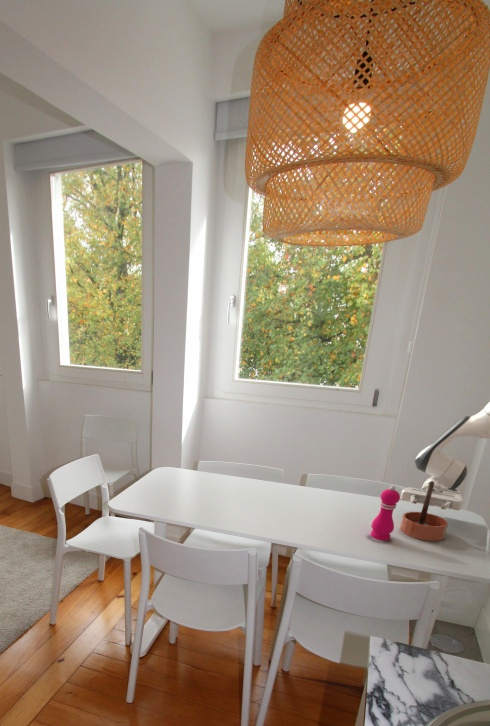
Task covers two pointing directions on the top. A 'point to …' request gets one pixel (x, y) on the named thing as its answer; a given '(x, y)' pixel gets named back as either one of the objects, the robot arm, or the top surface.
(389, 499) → the pepper mill
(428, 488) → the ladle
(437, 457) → the robot arm
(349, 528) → the top surface
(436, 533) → the bowl
